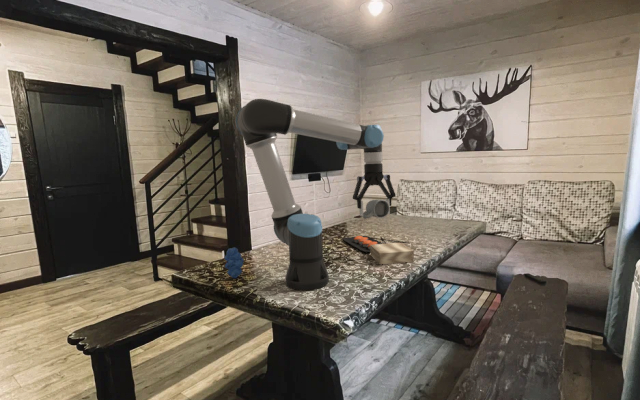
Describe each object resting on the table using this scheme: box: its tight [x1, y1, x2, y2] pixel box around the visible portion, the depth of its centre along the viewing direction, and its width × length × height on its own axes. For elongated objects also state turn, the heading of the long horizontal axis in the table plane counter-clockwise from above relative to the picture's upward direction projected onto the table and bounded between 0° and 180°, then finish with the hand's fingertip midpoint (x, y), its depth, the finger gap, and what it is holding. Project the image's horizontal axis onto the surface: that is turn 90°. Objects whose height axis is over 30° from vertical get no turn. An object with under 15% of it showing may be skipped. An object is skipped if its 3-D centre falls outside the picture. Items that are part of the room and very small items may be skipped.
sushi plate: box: [342, 235, 409, 253], centre depth 164 cm, size 29×30×4 cm
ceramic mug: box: [362, 199, 389, 220], centre depth 140 cm, size 11×8×8 cm
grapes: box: [224, 247, 245, 279], centre depth 123 cm, size 12×7×12 cm, turn 41°
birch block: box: [369, 242, 415, 265], centre depth 140 cm, size 14×14×5 cm
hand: (374, 215), depth 141 cm, fingers closed on ceramic mug, 11 cm apart
